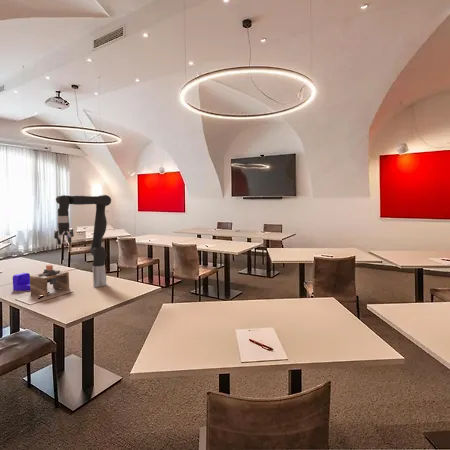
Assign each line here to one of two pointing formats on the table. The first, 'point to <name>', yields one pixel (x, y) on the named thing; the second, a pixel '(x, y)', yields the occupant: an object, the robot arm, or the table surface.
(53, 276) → the shelf rack
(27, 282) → the bracket
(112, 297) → the table surface
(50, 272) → the dark grey orange block
